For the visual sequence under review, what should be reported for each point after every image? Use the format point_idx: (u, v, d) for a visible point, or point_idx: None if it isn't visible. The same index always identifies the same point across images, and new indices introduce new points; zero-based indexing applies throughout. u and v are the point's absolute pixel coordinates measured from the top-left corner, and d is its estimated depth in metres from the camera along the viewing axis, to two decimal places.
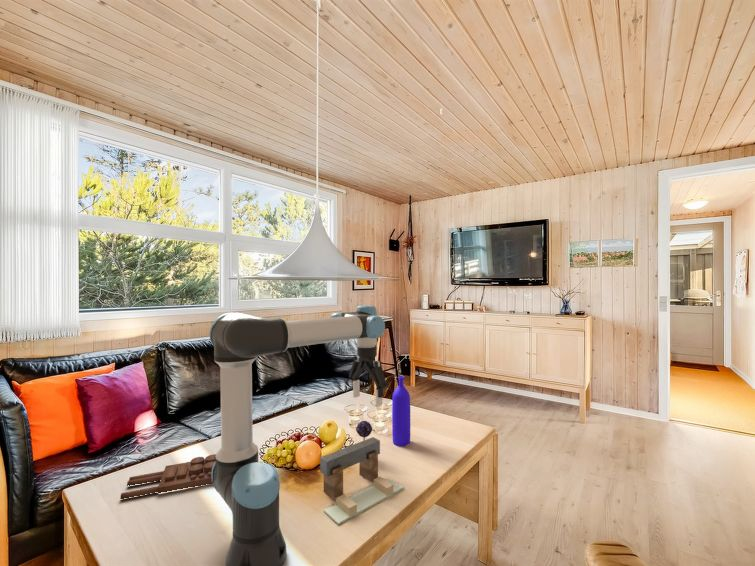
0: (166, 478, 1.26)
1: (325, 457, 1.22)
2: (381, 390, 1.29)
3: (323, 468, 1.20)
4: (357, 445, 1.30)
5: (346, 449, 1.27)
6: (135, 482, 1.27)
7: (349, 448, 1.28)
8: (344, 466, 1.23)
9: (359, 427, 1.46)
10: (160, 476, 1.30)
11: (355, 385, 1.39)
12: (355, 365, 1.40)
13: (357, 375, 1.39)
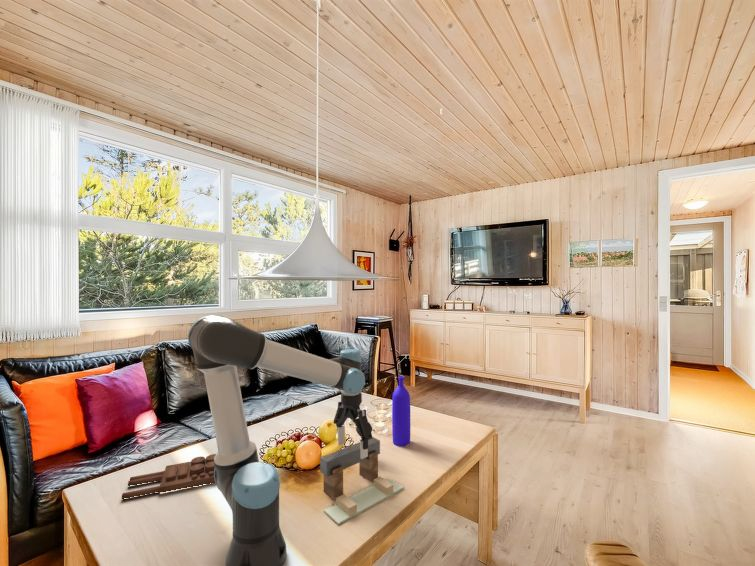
0: (167, 478, 1.26)
1: (325, 457, 1.22)
2: (366, 441, 1.22)
3: (323, 468, 1.20)
4: (357, 445, 1.30)
5: (346, 449, 1.27)
6: (136, 482, 1.27)
7: (349, 448, 1.28)
8: (344, 466, 1.23)
9: None
10: (161, 476, 1.30)
11: (340, 432, 1.32)
12: (340, 411, 1.32)
13: (342, 422, 1.32)
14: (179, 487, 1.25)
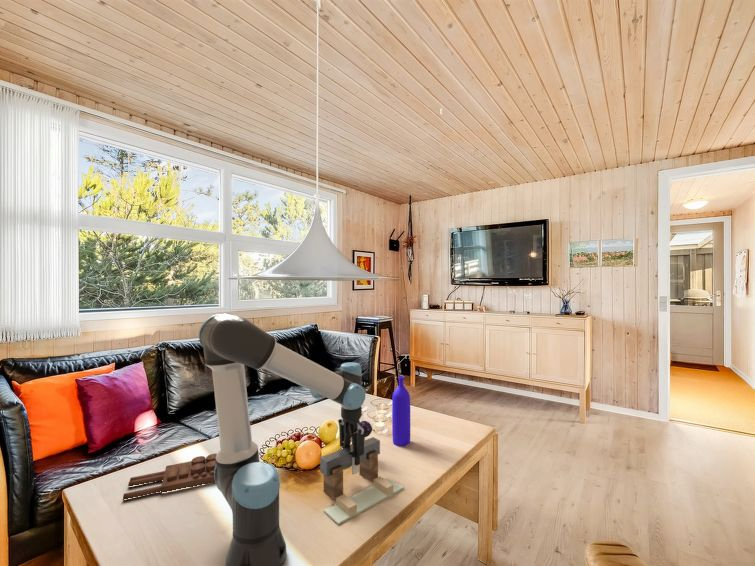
0: (168, 478, 1.26)
1: (325, 457, 1.22)
2: (357, 457, 1.25)
3: (323, 468, 1.20)
4: None
5: (346, 449, 1.27)
6: (136, 482, 1.27)
7: (349, 448, 1.28)
8: (344, 466, 1.23)
9: None
10: (161, 476, 1.30)
11: None
12: (342, 429, 1.31)
13: (347, 442, 1.29)
14: (181, 487, 1.25)
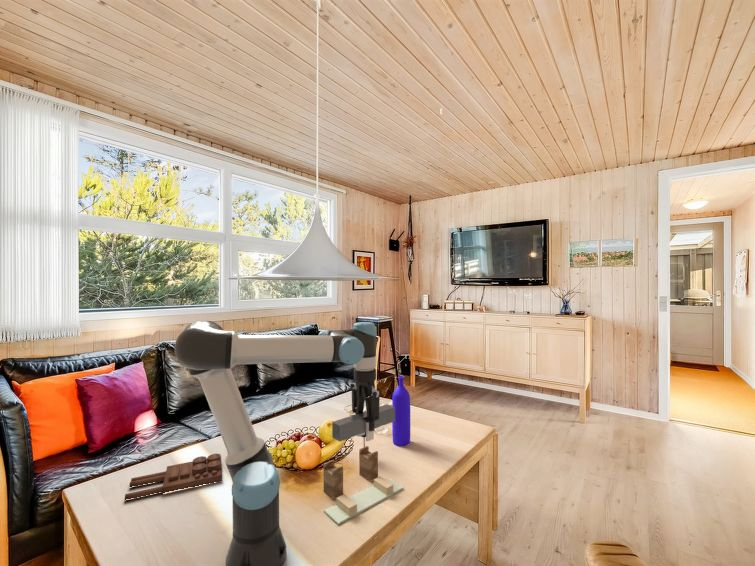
0: (170, 478, 1.26)
1: (337, 421, 1.12)
2: (372, 423, 1.16)
3: (336, 433, 1.11)
4: None
5: (359, 414, 1.18)
6: (137, 483, 1.27)
7: (363, 414, 1.19)
8: (358, 432, 1.14)
9: None
10: (163, 476, 1.30)
11: None
12: (355, 394, 1.22)
13: (360, 407, 1.20)
14: (182, 487, 1.25)
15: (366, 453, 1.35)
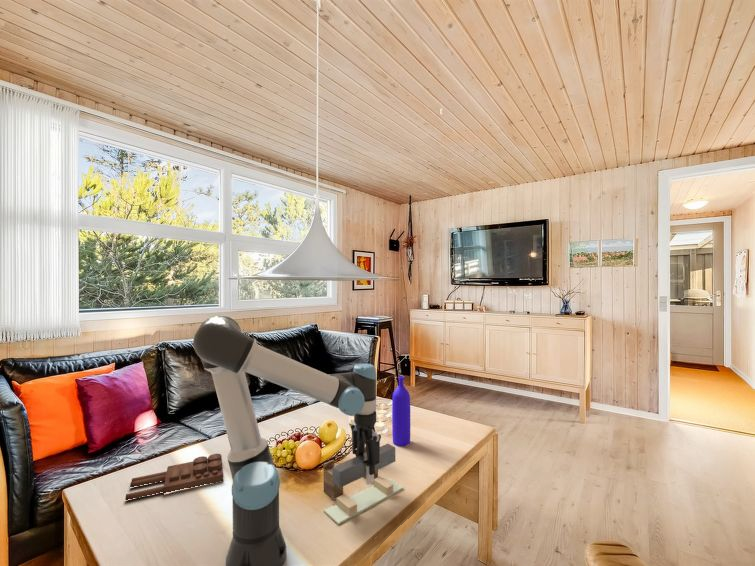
0: (171, 478, 1.26)
1: (338, 466, 1.12)
2: (372, 466, 1.16)
3: (336, 478, 1.11)
4: None
5: (360, 457, 1.18)
6: (138, 483, 1.26)
7: (363, 456, 1.19)
8: (358, 476, 1.14)
9: None
10: (163, 476, 1.30)
11: None
12: (355, 436, 1.22)
13: (360, 449, 1.20)
14: (183, 487, 1.25)
15: None
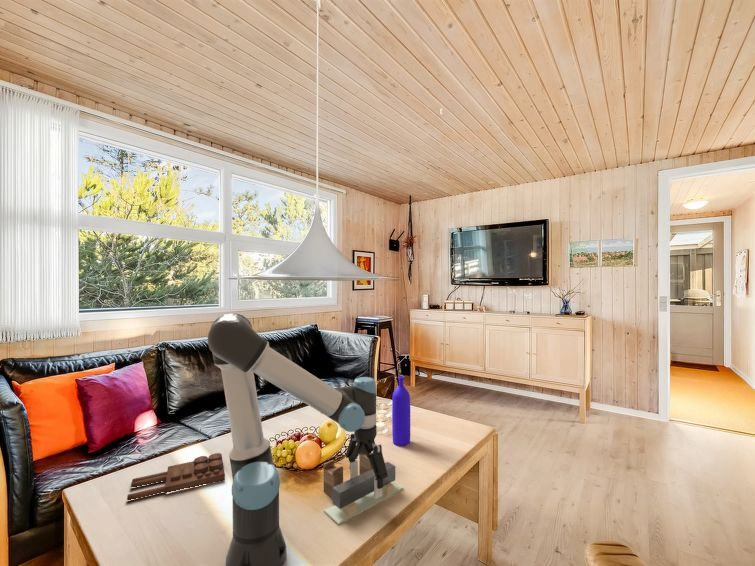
0: (172, 478, 1.26)
1: (338, 487, 1.12)
2: (381, 480, 1.13)
3: (336, 499, 1.11)
4: (371, 472, 1.21)
5: (360, 477, 1.18)
6: (139, 483, 1.26)
7: (363, 476, 1.19)
8: (358, 496, 1.14)
9: None
10: (164, 476, 1.30)
11: (353, 467, 1.23)
12: (352, 444, 1.23)
13: (355, 456, 1.22)
14: (185, 486, 1.25)
15: None
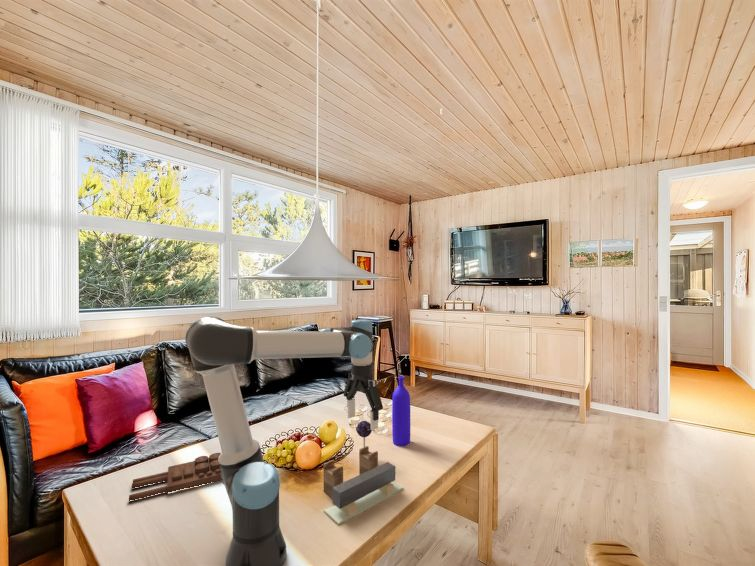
0: (174, 478, 1.26)
1: (338, 487, 1.12)
2: (376, 412, 1.19)
3: (336, 499, 1.11)
4: (371, 472, 1.21)
5: (360, 477, 1.18)
6: (140, 484, 1.26)
7: (363, 476, 1.19)
8: (358, 496, 1.14)
9: (359, 427, 1.46)
10: (165, 477, 1.30)
11: (350, 405, 1.30)
12: (350, 383, 1.30)
13: (352, 394, 1.30)
14: (187, 486, 1.25)
15: (366, 453, 1.35)
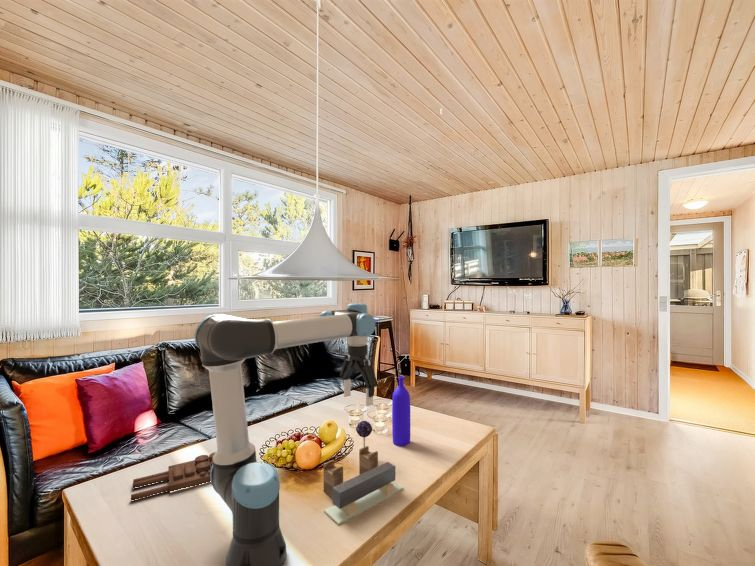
0: (175, 477, 1.27)
1: (338, 487, 1.12)
2: (371, 389, 1.27)
3: (336, 499, 1.11)
4: (371, 472, 1.21)
5: (360, 477, 1.18)
6: (141, 484, 1.26)
7: (363, 476, 1.19)
8: (358, 496, 1.14)
9: (359, 427, 1.46)
10: (166, 476, 1.30)
11: (346, 384, 1.37)
12: (346, 364, 1.37)
13: (348, 374, 1.37)
14: (189, 485, 1.26)
15: (366, 453, 1.35)
